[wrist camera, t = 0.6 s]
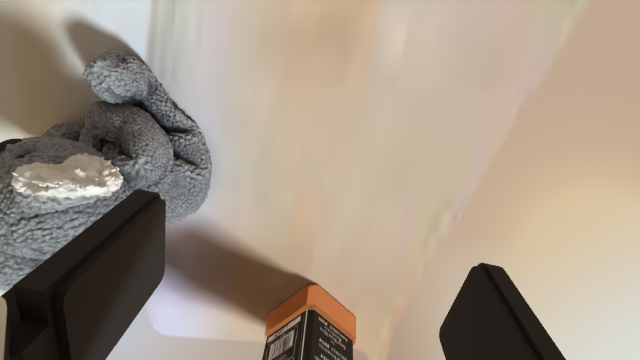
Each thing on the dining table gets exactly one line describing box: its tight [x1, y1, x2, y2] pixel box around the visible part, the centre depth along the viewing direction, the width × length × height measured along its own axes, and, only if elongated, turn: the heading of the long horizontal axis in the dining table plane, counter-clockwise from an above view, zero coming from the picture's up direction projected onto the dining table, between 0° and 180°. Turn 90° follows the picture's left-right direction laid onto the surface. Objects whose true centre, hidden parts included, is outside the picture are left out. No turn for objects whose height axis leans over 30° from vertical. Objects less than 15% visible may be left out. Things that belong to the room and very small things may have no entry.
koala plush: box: [0, 49, 212, 296], centre depth 31 cm, size 17×18×20 cm
